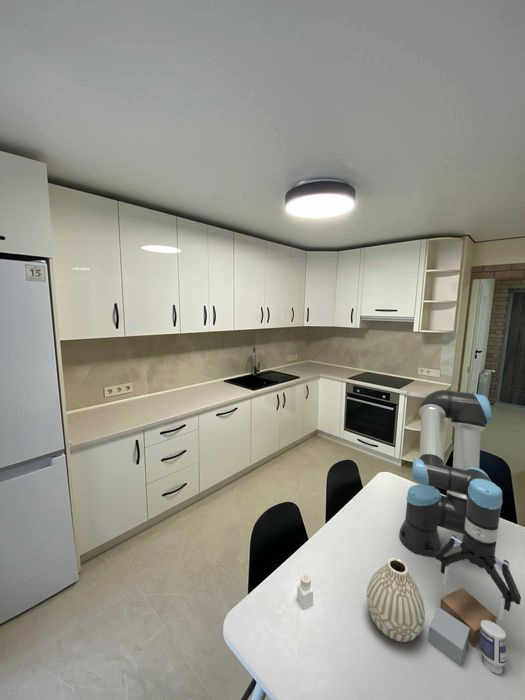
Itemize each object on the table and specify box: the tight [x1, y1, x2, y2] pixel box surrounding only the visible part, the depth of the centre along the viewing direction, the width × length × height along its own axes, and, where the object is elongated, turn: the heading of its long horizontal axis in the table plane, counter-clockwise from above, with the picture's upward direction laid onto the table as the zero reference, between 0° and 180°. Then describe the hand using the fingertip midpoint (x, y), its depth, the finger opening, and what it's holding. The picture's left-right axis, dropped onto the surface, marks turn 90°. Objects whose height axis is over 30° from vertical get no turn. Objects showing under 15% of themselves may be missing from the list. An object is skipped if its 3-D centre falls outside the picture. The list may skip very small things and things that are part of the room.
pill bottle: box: [479, 620, 507, 675], centre depth 78 cm, size 5×5×10 cm
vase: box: [366, 557, 426, 643], centre depth 86 cm, size 16×16×20 cm
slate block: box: [427, 606, 470, 667], centre depth 82 cm, size 8×8×6 cm
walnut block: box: [439, 587, 498, 648], centre depth 88 cm, size 10×10×6 cm
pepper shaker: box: [296, 573, 314, 610], centre depth 93 cm, size 4×4×10 cm
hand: (471, 599), depth 86 cm, fingers open, 13 cm apart
